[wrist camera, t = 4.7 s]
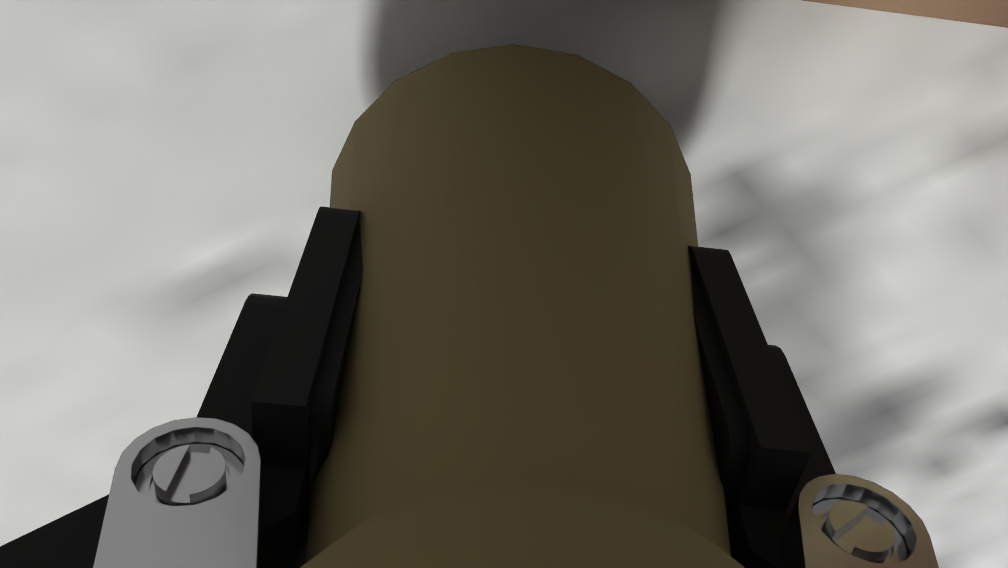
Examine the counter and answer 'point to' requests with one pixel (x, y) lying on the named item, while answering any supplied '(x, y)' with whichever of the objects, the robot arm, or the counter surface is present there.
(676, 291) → the cork
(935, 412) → the counter surface
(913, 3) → the board with octagonal collar
